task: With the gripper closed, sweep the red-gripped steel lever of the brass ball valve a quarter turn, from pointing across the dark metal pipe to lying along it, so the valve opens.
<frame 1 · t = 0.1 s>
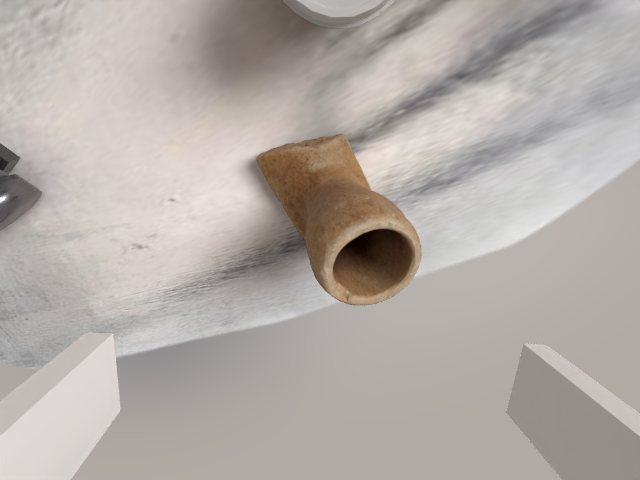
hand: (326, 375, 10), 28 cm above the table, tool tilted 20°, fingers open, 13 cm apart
tan flared piece: (332, 187, 37), on the table
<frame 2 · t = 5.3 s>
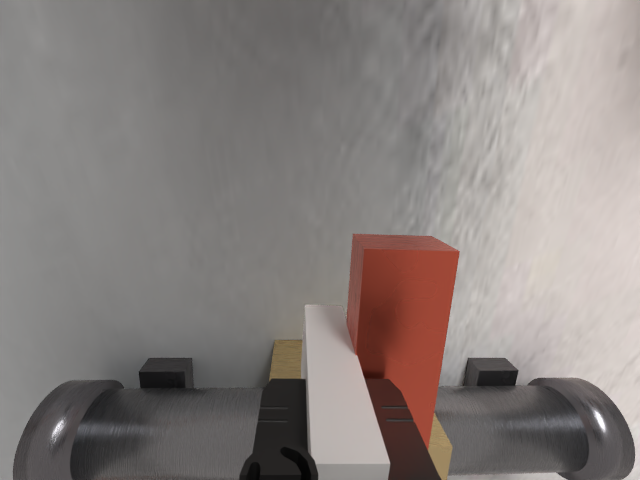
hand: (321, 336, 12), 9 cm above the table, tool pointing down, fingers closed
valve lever: (377, 460, 11), point 12 cm above the table, hinge at 0.1°, touching gripper
valve pipe: (333, 386, 24), on the table
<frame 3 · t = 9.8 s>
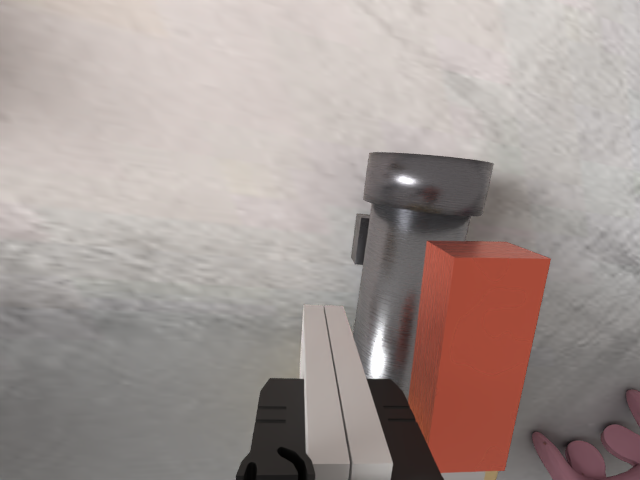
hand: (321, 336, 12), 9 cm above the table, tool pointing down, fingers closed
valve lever: (447, 470, 11), point 12 cm above the table, hinge at 85.9°
valve pipe: (366, 390, 24), on the table
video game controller: (584, 429, 26), on the table
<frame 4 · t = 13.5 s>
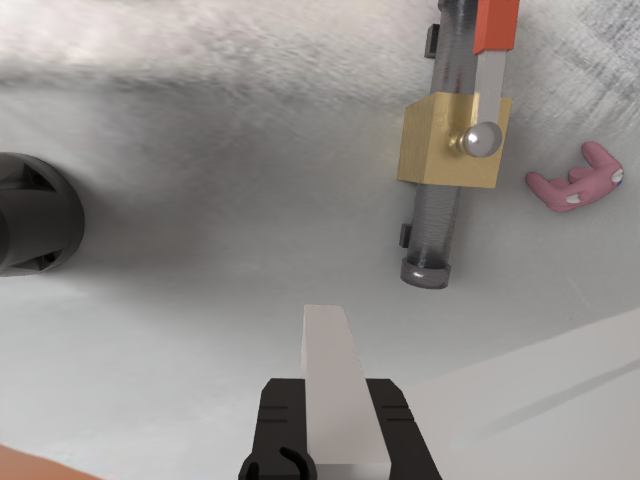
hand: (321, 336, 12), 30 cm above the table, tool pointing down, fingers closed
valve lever: (490, 65, 28), point 12 cm above the table, hinge at 85.9°
valve pipe: (430, 146, 41), on the table
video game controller: (558, 176, 43), on the table
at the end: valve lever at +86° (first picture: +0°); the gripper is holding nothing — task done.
